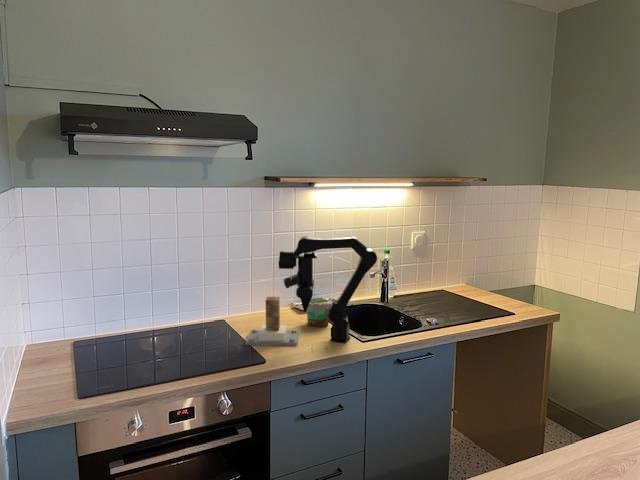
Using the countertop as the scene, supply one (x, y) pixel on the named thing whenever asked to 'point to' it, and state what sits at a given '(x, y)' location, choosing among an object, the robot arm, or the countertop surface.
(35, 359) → the countertop surface
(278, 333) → the base brick
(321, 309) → the food container
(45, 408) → the countertop surface
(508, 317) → the countertop surface
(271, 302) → the walnut brick
